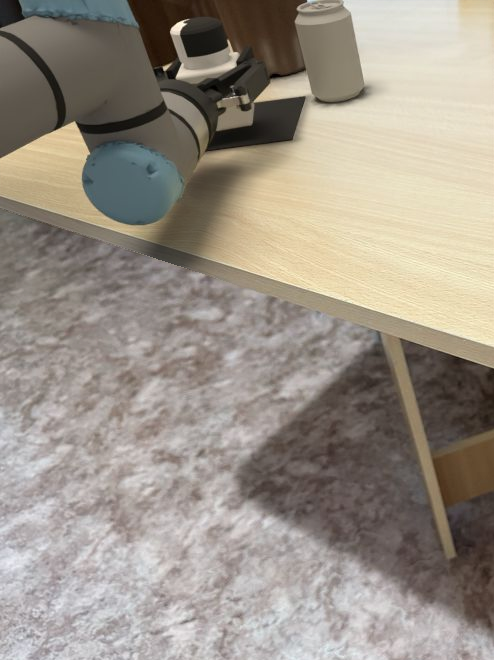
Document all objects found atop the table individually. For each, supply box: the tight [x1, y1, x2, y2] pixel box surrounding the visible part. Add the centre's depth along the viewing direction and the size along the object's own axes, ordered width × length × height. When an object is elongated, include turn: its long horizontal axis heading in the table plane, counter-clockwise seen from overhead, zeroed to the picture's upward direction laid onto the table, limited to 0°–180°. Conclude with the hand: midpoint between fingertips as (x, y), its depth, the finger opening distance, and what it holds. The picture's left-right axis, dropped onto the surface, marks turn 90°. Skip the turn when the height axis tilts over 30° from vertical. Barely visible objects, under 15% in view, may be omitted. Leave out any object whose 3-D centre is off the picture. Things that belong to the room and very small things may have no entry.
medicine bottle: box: [169, 16, 255, 131], centre depth 85 cm, size 7×7×12 cm
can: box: [295, 0, 365, 103], centre depth 94 cm, size 8×8×12 cm
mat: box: [205, 95, 306, 152], centre depth 92 cm, size 18×16×1 cm
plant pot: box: [213, 0, 308, 78], centre depth 107 cm, size 16×16×16 cm
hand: (218, 61), depth 88 cm, fingers closed on medicine bottle, 8 cm apart
